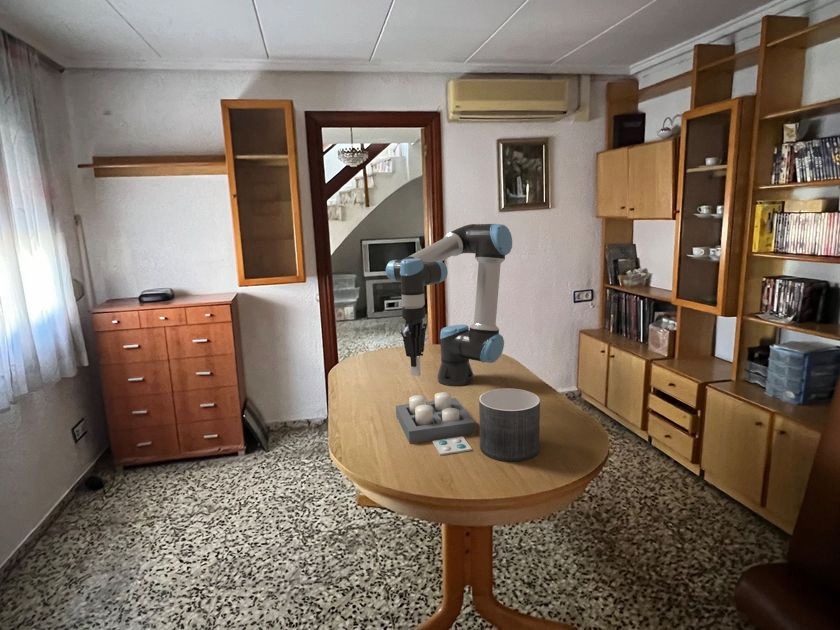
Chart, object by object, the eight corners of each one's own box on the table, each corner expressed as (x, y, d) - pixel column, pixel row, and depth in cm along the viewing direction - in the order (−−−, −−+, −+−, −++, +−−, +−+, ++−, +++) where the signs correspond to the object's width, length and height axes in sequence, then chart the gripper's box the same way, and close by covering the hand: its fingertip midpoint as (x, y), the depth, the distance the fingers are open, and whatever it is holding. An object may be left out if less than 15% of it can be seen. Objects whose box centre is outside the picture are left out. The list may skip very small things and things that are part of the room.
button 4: (456, 422, 175) (456, 406, 174) (461, 428, 170) (461, 413, 169) (440, 424, 174) (440, 409, 173) (445, 431, 169) (444, 415, 167)
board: (455, 408, 188) (455, 397, 187) (476, 433, 167) (475, 422, 166) (396, 416, 183) (395, 405, 182) (409, 443, 162) (409, 431, 161)
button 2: (430, 419, 173) (429, 403, 171) (434, 426, 167) (434, 410, 166) (414, 421, 171) (413, 406, 170) (418, 428, 166) (417, 412, 165)
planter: (541, 463, 147) (541, 411, 143) (478, 460, 150) (477, 409, 147) (538, 435, 164) (538, 388, 160) (481, 433, 167) (480, 387, 164)
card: (462, 437, 165) (462, 435, 164) (472, 450, 156) (472, 448, 156) (432, 442, 162) (432, 440, 162) (440, 455, 154) (440, 453, 154)
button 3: (448, 406, 183) (448, 391, 182) (453, 412, 178) (452, 396, 177) (433, 408, 182) (432, 393, 181) (437, 414, 177) (437, 399, 175)
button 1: (424, 409, 181) (423, 394, 180) (427, 415, 176) (427, 400, 175) (408, 411, 180) (407, 396, 179) (411, 417, 175) (411, 402, 173)
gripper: (414, 302, 177) (416, 367, 182) (392, 309, 166) (396, 379, 171) (433, 303, 173) (435, 370, 178) (412, 311, 162) (415, 382, 167)
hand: (416, 374), depth 175 cm, fingers closed
